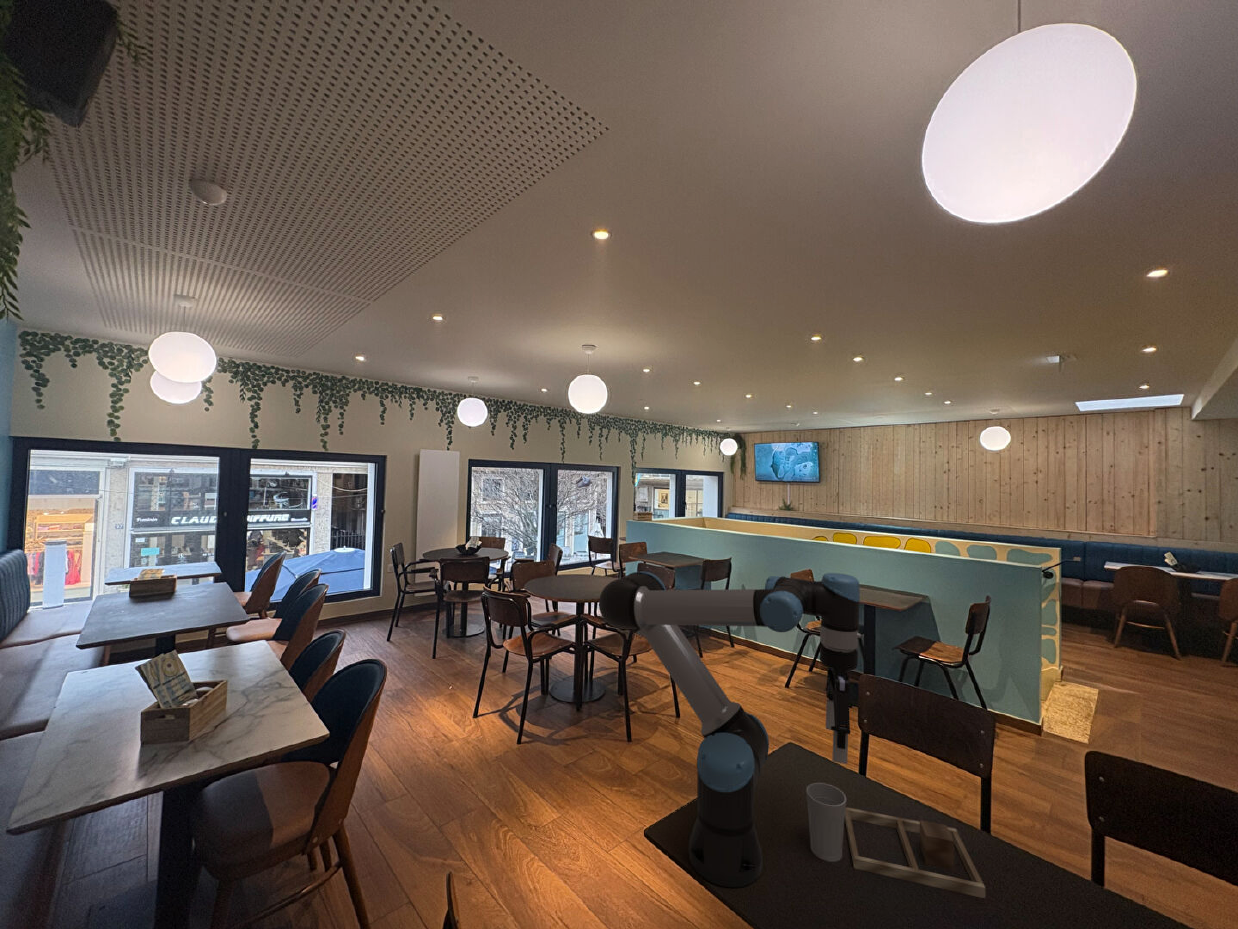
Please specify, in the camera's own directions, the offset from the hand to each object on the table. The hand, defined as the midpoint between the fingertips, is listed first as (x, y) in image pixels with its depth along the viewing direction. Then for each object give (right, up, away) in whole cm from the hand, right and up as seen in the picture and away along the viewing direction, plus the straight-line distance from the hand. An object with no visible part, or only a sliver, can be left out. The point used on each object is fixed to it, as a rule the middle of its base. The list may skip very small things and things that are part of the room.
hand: (835, 745), depth 108 cm
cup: (-2, -23, 0) cm, 23 cm away
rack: (+15, -23, -1) cm, 27 cm away
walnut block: (+20, -23, -3) cm, 31 cm away
